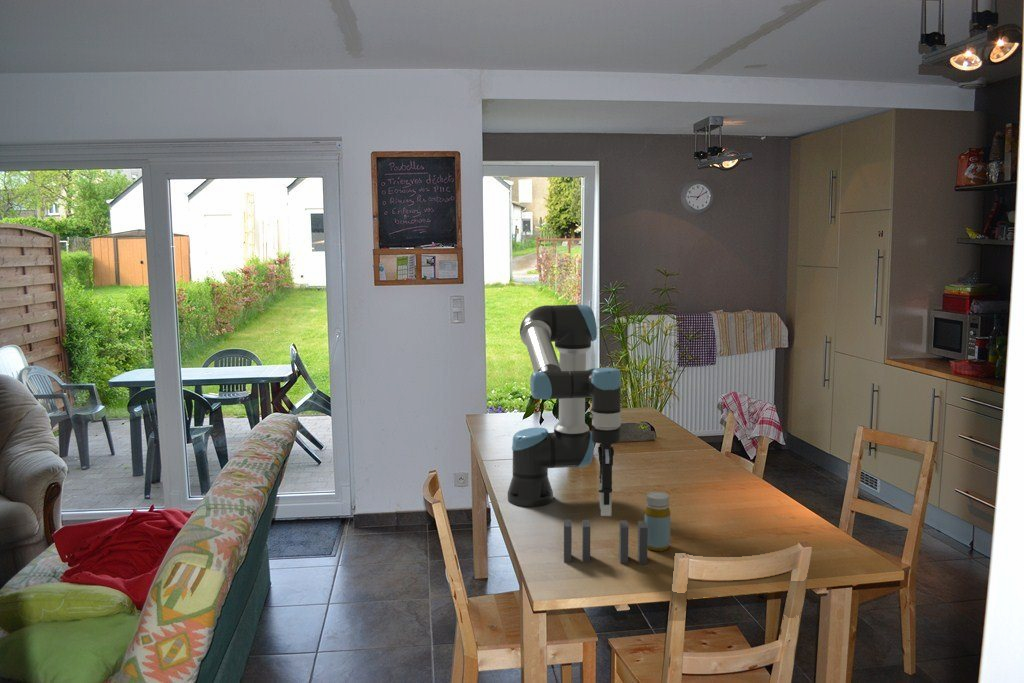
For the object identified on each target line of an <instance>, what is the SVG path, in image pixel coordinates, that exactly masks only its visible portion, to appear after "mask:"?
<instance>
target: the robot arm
mask: <svg viewBox="0 0 1024 683" xmlns="http://www.w3.org/2000/svg"><path fill="white" fill-rule="evenodd" d="M519 335H520V340H521V341H522V343H523V344H524V346H526V349H527V352H528V356H529V359H530V363H531V365H532V368H533V372H532V373H531V374H530V375H531V376H530V386H529V387H530V393H531V397H532V398H533V399H535V400H558V422H557V423H556V424H555V425H554V426H553V432H549V431H548V429H547V428H545V427H528V428H524V429H521V430H519V431H517V432H516V433H514V435H513V437H512V445H511V451H512V477H511V481H510V484H509V487H508V491H507V501H508V502H509V503H510V504H512V505H517V506H520V507H540V506H545V505H549V504H550V503H552V502H553V501H554V490H553V489H552V486H551V483H550V479H549V475H548V474H549V471H548V470H549V469H560V468H561V469H564V468H565V469H566V468H576V469H578V468H581V467H582V468H583V467H587V466H589V465H590V464H591V462H592V461H593V458H594V453H595V444H599V446H598V447H597V450H598V451H597V452H598V462H599V478H598V479H599V483H600V484H599V489H598V492H599V509H600V516H601V517H612V496H613V495H612V493H613V466H614V456H615V449H614V447H613V446H612V445H614V444H617V443H619V442H620V441H621V428H620V426H621V421H622V418H621V416H622V412H621V410H622V409H621V404H622V403H621V401H622V399H621V398H622V395H621V393H622V388H621V387H622V376H621V371H620V369H618V368H616V367H615V368H614V367H607V366H605V367H591V368H588V369H587V367H586V366H587V363H586V362H587V352H588V350H590V349H591V347H592V342H594V341H596V340H597V338H598V337H597V335H598V329H597V322H596V317H595V313H594V311H593V309H592V307H590V306H589V305H588V304H587V305H585V304H556V305H555V304H553V305H552V304H551V305H546V304H545V305H540V306H538V307H535V308H534V309H532V310H531V311H529V312H528V313H527V314H526V315H525V316H524V318H522V321H521V323H520V328H519ZM553 343H554V345H553ZM554 347H555V348H556V349H557V351H558V352H559V359H558V356H557V353H556V351H555V348H554ZM587 398H588V399H589V398H590V399H591V413H590V414H589V418H591V426H592V428H591V430H590V427H589V425H588V424H587V423H586V421H585V419H586V399H587ZM601 474H602V489H601Z"/></svg>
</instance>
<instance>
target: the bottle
mask: <svg viewBox="0 0 1024 683" xmlns="http://www.w3.org/2000/svg"><path fill="white" fill-rule="evenodd" d="M645 497H646V500H645V501H646V504H645V505H646V506H645V508H644V521H646V524H647V527H648V537H647V550H650V551H654V552H663V551H666V550H667V549H669V548H670V546H671V545H670V544H671V543H670V542H671V510H670V495H669V494H668V493H666V492H662V491H650V492H648V493H647V494H646V496H645Z"/></svg>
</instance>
